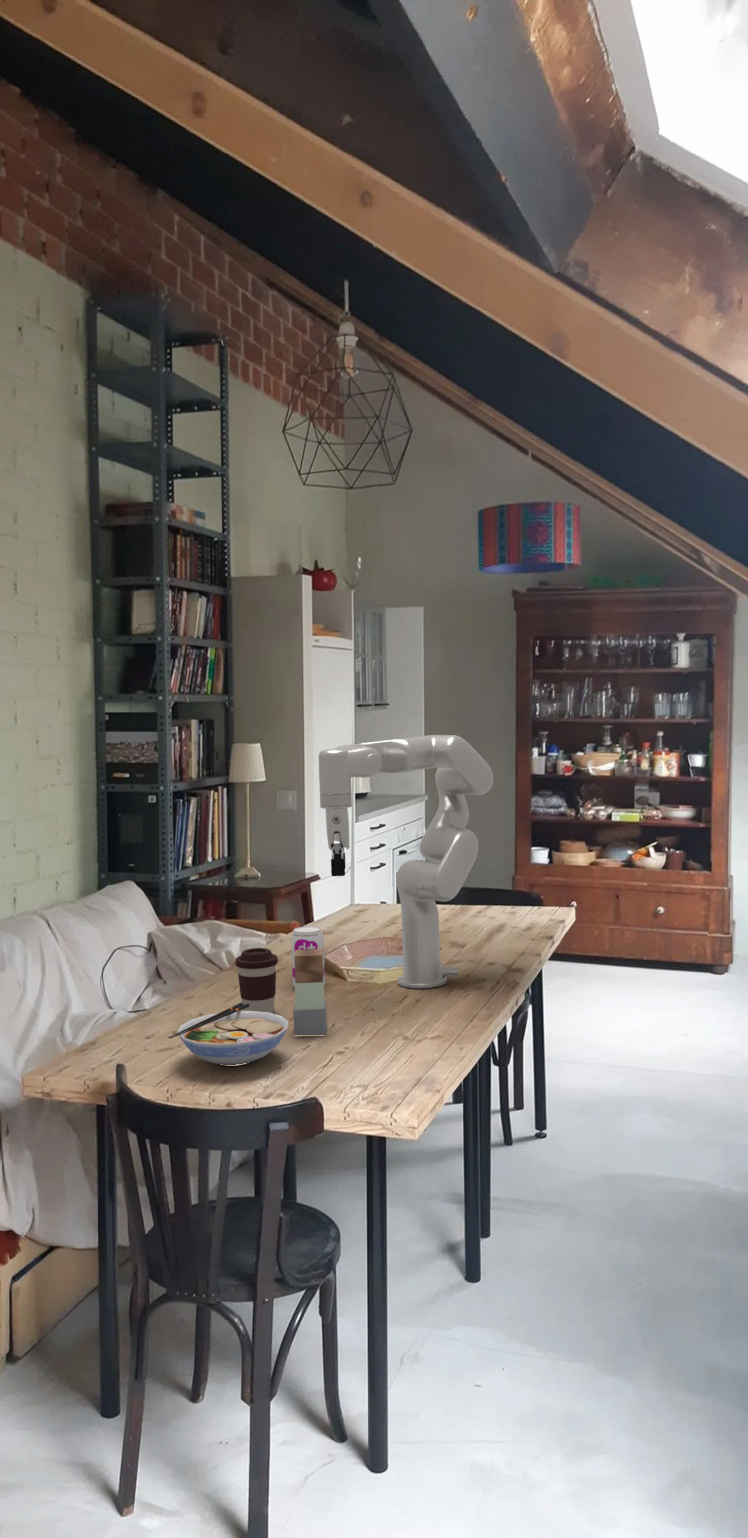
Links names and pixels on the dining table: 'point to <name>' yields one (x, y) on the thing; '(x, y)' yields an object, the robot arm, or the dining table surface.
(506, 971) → the dining table surface
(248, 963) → the coffee cup
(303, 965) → the walnut cube
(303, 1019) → the tower base
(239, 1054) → the ramen bowl
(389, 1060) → the dining table surface
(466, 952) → the dining table surface
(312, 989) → the tower mid
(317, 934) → the supplement can
